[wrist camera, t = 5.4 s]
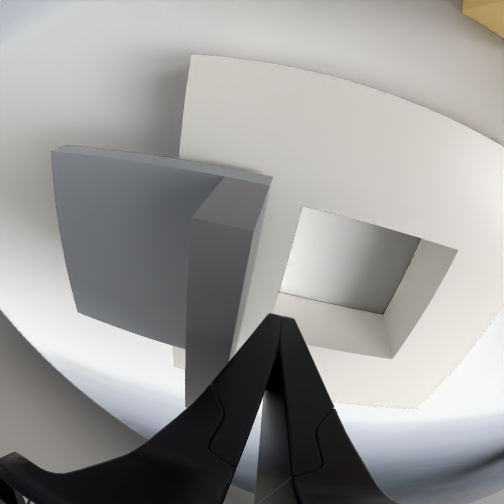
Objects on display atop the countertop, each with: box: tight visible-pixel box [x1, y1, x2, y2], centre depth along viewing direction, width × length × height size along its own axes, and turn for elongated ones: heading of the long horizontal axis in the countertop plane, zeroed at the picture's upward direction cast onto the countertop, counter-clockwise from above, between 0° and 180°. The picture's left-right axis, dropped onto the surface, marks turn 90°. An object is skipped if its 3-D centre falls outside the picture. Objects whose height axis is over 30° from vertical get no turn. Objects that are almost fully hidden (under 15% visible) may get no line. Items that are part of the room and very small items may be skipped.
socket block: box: [173, 54, 504, 409], centre depth 12 cm, size 14×14×3 cm
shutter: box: [52, 145, 273, 408], centre depth 9 cm, size 7×7×3 cm
